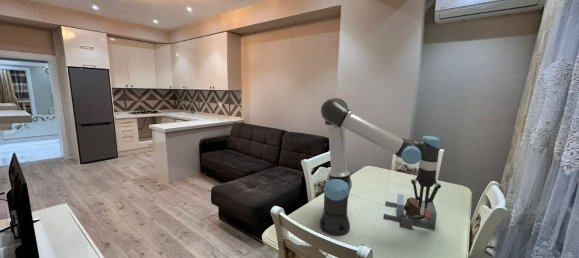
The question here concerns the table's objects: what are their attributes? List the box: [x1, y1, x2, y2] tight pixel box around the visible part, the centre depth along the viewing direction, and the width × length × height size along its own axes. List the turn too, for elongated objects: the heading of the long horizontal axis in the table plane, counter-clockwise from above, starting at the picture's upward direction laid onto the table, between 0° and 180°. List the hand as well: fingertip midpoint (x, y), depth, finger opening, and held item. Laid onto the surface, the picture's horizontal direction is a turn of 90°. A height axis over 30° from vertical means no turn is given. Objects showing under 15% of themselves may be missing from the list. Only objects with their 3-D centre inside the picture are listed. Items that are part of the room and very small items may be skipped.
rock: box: [404, 197, 427, 221], centre depth 128 cm, size 12×10×10 cm
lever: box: [405, 212, 431, 220], centre depth 118 cm, size 3×3×12 cm
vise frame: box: [382, 197, 438, 231], centre depth 128 cm, size 22×24×9 cm
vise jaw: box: [395, 193, 405, 217], centre depth 131 cm, size 14×3×9 cm, turn 155°
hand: (421, 213), depth 117 cm, fingers closed
